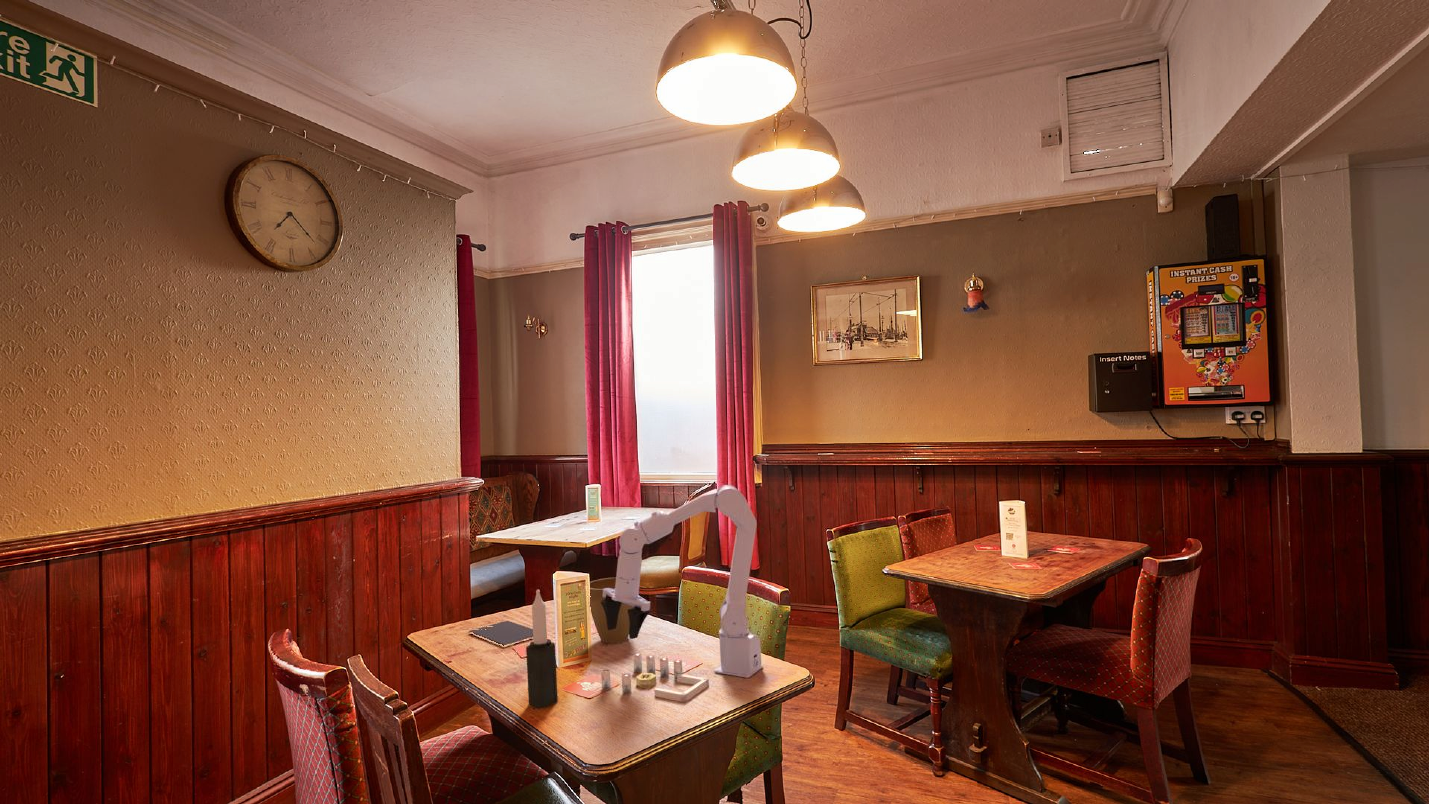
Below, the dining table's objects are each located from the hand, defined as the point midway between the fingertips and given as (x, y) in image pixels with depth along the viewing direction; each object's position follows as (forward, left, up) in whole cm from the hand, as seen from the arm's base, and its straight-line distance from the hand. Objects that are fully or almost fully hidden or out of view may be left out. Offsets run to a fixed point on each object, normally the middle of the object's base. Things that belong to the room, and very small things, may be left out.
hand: (622, 633), depth 167 cm
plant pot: (+20, -22, -11) cm, 31 cm away
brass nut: (-8, +1, -11) cm, 13 cm away
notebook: (+54, -13, -11) cm, 57 cm away
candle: (+7, +19, -11) cm, 23 cm away
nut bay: (-18, +1, -10) cm, 21 cm away
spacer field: (-7, +1, -10) cm, 12 cm away
